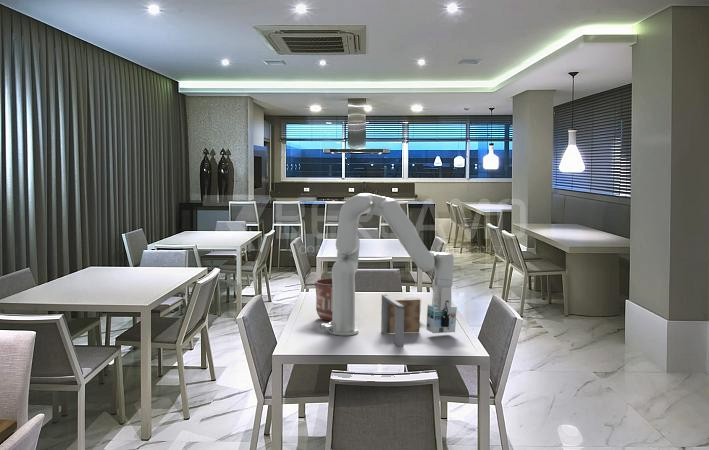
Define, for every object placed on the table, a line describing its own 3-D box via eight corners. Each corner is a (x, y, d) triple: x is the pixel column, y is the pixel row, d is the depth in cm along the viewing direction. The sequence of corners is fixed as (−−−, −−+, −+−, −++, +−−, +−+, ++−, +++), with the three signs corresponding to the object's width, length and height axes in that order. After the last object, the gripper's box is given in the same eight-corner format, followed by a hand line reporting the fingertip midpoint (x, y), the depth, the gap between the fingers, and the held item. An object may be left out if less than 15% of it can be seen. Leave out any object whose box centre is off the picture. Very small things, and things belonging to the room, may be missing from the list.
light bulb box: (433, 333, 250) (434, 307, 249) (425, 329, 256) (426, 304, 255) (456, 332, 254) (457, 306, 253) (447, 328, 260) (449, 303, 259)
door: (387, 333, 257) (388, 300, 256) (387, 332, 258) (387, 300, 257) (419, 332, 259) (420, 299, 258) (418, 331, 260) (419, 299, 259)
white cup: (406, 322, 277) (406, 301, 276) (401, 318, 285) (402, 297, 284) (423, 322, 279) (423, 300, 278) (418, 318, 287) (418, 297, 286)
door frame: (398, 346, 238) (399, 306, 237) (381, 331, 261) (381, 294, 260) (403, 346, 239) (404, 306, 238) (385, 331, 262) (386, 294, 260)
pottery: (329, 313, 294) (328, 276, 293) (360, 318, 285) (360, 279, 284) (307, 321, 279) (307, 282, 277) (340, 326, 270) (340, 286, 268)
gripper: (427, 278, 260) (425, 319, 262) (442, 286, 244) (440, 330, 245) (443, 278, 262) (441, 319, 264) (460, 286, 245) (458, 329, 247)
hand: (441, 324), depth 254 cm, fingers closed on light bulb box, 7 cm apart
